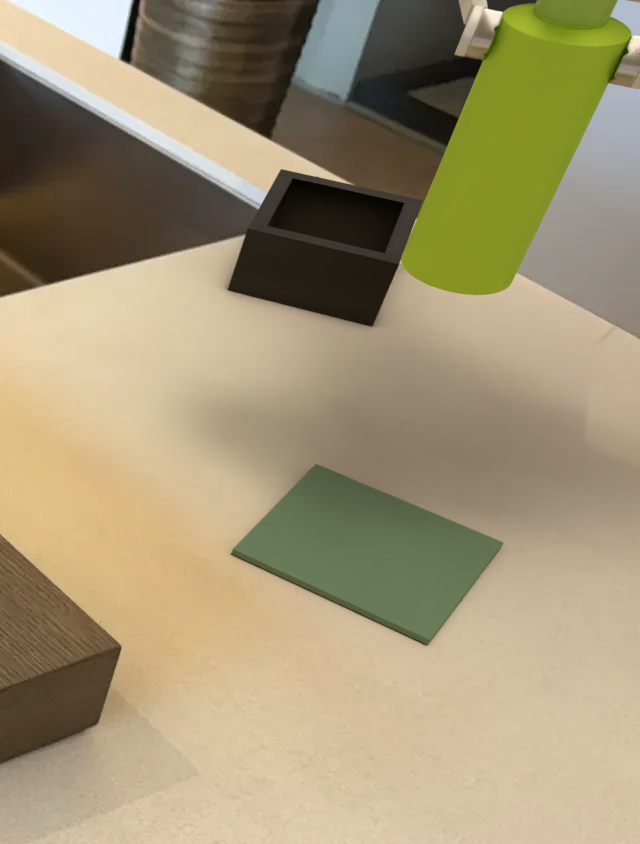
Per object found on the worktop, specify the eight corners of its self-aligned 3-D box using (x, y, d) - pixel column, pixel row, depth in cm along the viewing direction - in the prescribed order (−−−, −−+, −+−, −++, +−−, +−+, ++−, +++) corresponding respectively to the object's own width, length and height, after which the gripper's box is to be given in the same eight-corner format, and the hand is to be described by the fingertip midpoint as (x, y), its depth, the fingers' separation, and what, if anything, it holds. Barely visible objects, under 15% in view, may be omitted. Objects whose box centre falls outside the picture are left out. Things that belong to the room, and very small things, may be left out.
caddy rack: (372, 326, 102) (399, 263, 98) (227, 289, 105) (247, 228, 101) (397, 260, 109) (423, 200, 105) (260, 228, 112) (280, 168, 109)
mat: (501, 547, 83) (504, 542, 83) (427, 645, 77) (430, 639, 77) (313, 468, 89) (316, 463, 88) (230, 553, 82) (232, 548, 82)
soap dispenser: (382, 281, 76) (551, -129, 61) (416, 235, 80) (583, -161, 65) (492, 314, 73) (695, -106, 59) (522, 264, 77) (719, -140, 63)
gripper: (451, -278, 67) (342, -6, 68) (937, -224, 61) (808, 76, 62) (427, -192, 73) (327, 57, 74) (867, -134, 67) (751, 139, 68)
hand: (549, 67), depth 68 cm, fingers closed on soap dispenser, 6 cm apart
